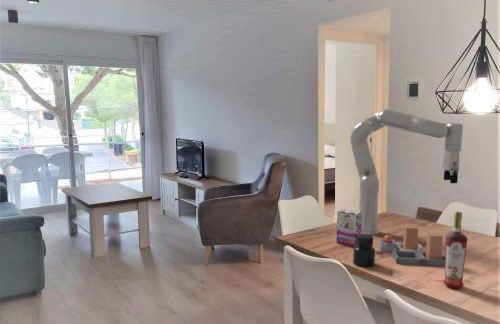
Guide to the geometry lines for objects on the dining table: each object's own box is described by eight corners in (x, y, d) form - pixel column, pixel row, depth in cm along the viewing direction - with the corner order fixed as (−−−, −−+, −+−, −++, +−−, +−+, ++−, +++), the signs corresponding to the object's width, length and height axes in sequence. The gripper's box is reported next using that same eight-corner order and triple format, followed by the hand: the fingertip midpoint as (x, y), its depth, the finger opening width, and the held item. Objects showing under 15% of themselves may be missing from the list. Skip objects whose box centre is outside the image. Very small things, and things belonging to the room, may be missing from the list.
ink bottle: (379, 265, 179) (381, 237, 177) (365, 269, 174) (366, 240, 172) (362, 258, 187) (363, 231, 185) (347, 262, 182) (348, 235, 180)
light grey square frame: (399, 255, 191) (400, 249, 191) (395, 247, 202) (395, 242, 202) (425, 256, 190) (425, 251, 189) (419, 248, 200) (419, 243, 200)
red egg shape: (384, 246, 196) (385, 236, 195) (383, 244, 199) (384, 235, 198) (391, 246, 195) (392, 237, 195) (390, 244, 198) (390, 235, 198)
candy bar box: (361, 245, 204) (363, 212, 202) (356, 248, 201) (357, 214, 199) (341, 240, 212) (342, 208, 210) (335, 243, 208) (337, 210, 206)
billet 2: (428, 263, 179) (430, 235, 177) (425, 259, 184) (427, 232, 182) (441, 264, 178) (442, 236, 177) (437, 259, 183) (439, 233, 182)
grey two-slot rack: (396, 265, 178) (397, 258, 178) (392, 257, 188) (392, 250, 188) (449, 268, 175) (449, 260, 175) (441, 260, 185) (442, 253, 185)
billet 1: (405, 253, 194) (406, 227, 192) (402, 250, 199) (404, 225, 197) (416, 254, 193) (418, 228, 192) (414, 250, 198) (415, 225, 196)
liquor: (442, 288, 155) (447, 213, 152) (441, 281, 162) (446, 209, 159) (465, 291, 153) (470, 215, 149) (462, 284, 160) (468, 211, 156)
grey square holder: (380, 252, 194) (381, 243, 194) (378, 248, 201) (378, 238, 201) (396, 253, 193) (397, 244, 193) (393, 248, 200) (394, 239, 200)
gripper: (439, 146, 222) (437, 178, 224) (450, 149, 205) (448, 184, 207) (454, 146, 221) (451, 179, 223) (467, 149, 204) (464, 184, 206)
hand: (450, 181), depth 215 cm, fingers open, 9 cm apart
